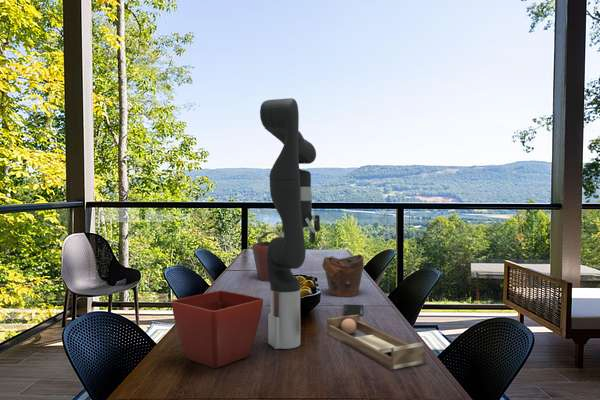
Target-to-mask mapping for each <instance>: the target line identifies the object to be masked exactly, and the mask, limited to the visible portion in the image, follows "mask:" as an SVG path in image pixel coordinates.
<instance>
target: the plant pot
mask: <svg viewBox="0 0 600 400" xmlns="http://www.w3.org/2000/svg"><path fill="white" fill-rule="evenodd" d="M263 305H264V298H263V297H262V298H261V297H257V296H253V295H247V294H243V293H237V292H231V291H226V290H216V291H212V292H206V293H202V294H196V295H191V296H187V297H183V298H177V299H173V300H171V309H172V314H173V319H174V323H175V327H176V331H177V333H178V338H179V340H180V344H181V346H182V348H183V351H184V354H185V356H186V358H187V359H189V360H191V361H194V362H196V363H200V364H201V365H205V366H207V367H210V368H213V369H216V368H220V367H223V366H225V365H226V366H227V365H228V364H232V363H234V362H236V361H239V360H241V359H245V358H247V357H248V356H249V354H250V352H251V349H252V346H253V344H254V340H255V338H256V335H257V332H258V327H259V324H260V320H261V315H262V310H263Z"/></svg>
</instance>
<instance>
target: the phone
mask: <svg viewBox="0 0 600 400" xmlns="http://www.w3.org/2000/svg"><path fill="white" fill-rule="evenodd" d="M351 315H360V318H361V317H364V305H362V304H347V303H346V304H343V308H342V317H344V316H351Z"/></svg>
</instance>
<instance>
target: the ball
mask: <svg viewBox="0 0 600 400" xmlns="http://www.w3.org/2000/svg"><path fill="white" fill-rule="evenodd" d="M341 328H342V331H343V332H345V333H347V334H352V333H353V332H355V330H356V323H355V321H354V320H352V319H345V320H344V321H343V322H342V324H341Z"/></svg>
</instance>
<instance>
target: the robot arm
mask: <svg viewBox="0 0 600 400" xmlns="http://www.w3.org/2000/svg"><path fill="white" fill-rule="evenodd" d="M297 102H298V101H296V99H294V98H291V97H290V98H278V99H277V98H274V99H267V100H264V101H262V103H261V105H260V109H259V117H260V123H261V125H262V126H263V128H264V129H265V130H266V131H267V132H269V133H270V134H271V135H272V136H274V137H275V138H276V139H278V141H280V142H281V143H282V144H283V146H282V148H281V151H280V153H279V155H278V156H277V158H276V160H275V162H274V164H272V165H273V166H272V167H271V170H270V172H269V192H270V198H271V201H272V203H273V205H274V207H275V209H276V211H277V213H278V215H279V217H280V220H281V222H282V225H281V233H282V232H283V235H284V237H280V236H277V237H274V238H272V239H271V240H270V241H269V242H270V243H269V245H268V249H267V270H268V280H269V281H268V282H269V284H270V285H269V287H270V288H269V289H270V312H269V313H268V314H267V322H268V325H267V329H268V330H267V331H268V332H267V343H268V345H270V346H271V347H272V348H273V349H275V350H278V349H283V350H291V349H294V348H297V347H299V346H300V345H301V281H300V279H299V278H298V277H297V276H295V275H294V274H293V272H292V270H296V269H299V268H301V267H302V266H303V264H304V262H305V259H306V255H307V254H306V253H307V252H306V241H305V233H304V228H306V229H307V230H308V231H309V244H314V243H315V242H316V233H317V232H321V219H320V215H318V214H313V215H312V205H313V204H312V199H313V198H312V197H313V196H312V195H313V194H312V193H313V192H312V173H311V172H310V171H309V170H304V169H301V168H300V165H301V164H302V165H305V164H307V165H309V164H312V163H314V162H315V160H316V157H317V151H316V148H315V146H314V145H313V144H312V142H310V141H308V140H307V139H305V138H304V137H303V134H302V133H301V131H299V126H300V121H299V120H300V119H299V118H300V115H299V106H298V103H297ZM312 221H313V224H312V223H311V222H312ZM290 268H291V269H290Z"/></svg>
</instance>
